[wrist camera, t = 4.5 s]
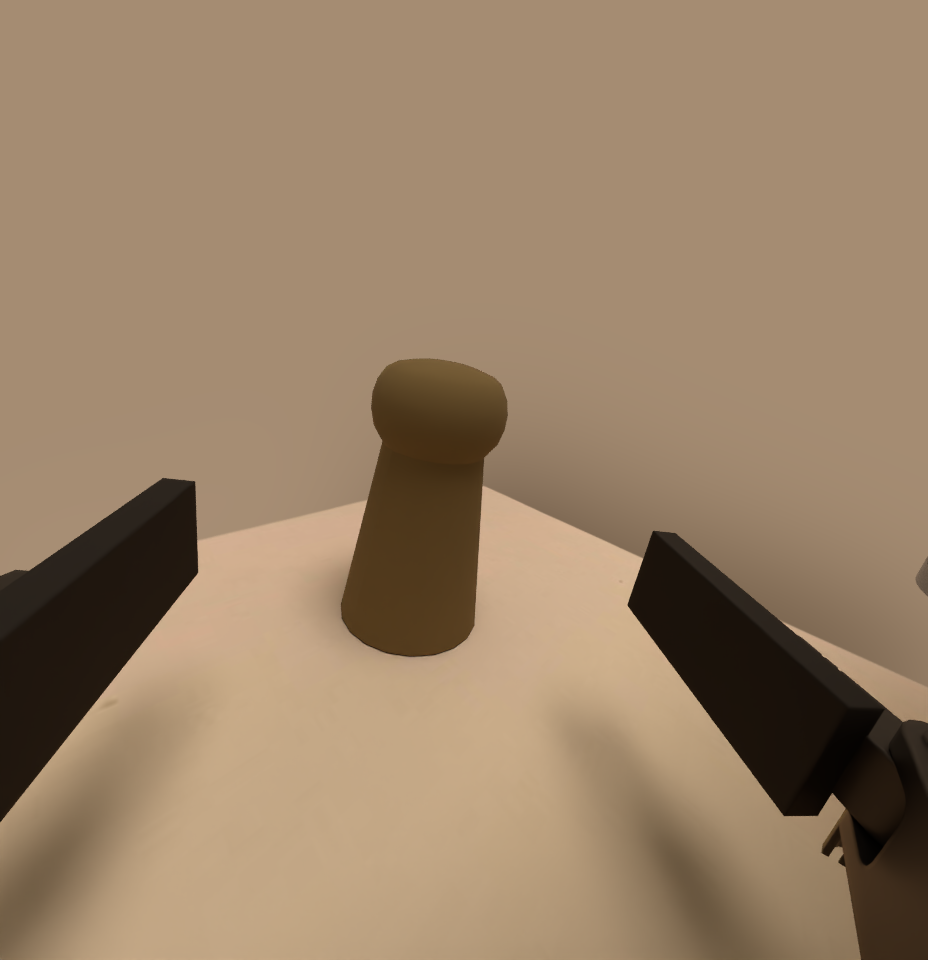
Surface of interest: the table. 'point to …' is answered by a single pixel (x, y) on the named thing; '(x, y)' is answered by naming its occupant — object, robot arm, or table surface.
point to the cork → (423, 507)
